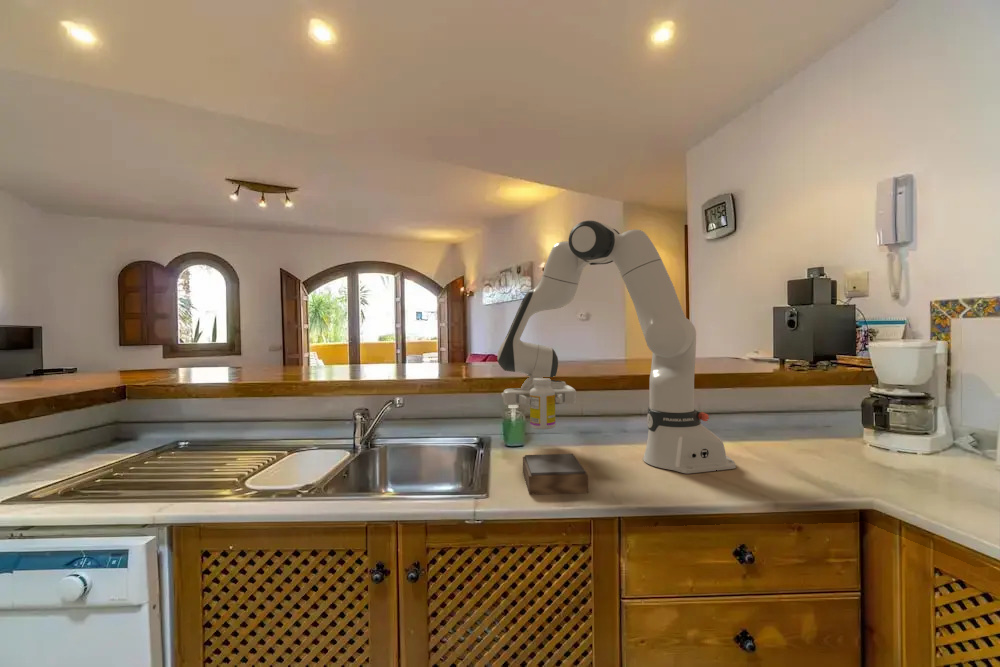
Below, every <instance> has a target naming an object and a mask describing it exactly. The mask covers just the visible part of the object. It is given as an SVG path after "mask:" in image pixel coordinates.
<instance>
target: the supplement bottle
mask: <svg viewBox="0 0 1000 667" xmlns="http://www.w3.org/2000/svg"><path fill="white" fill-rule="evenodd" d="M533 383H534V388H532V389H531V390H530V407H529V416H530V417H529V421H530V423H529V424H530V427H531V428H532V429H536V430H551V429H554V428H555V426H556V404H555V391H554V389H552V388H551V387H550V384H551V379H550V378H534V379H533Z"/></svg>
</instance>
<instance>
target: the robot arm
mask: <svg viewBox="0 0 1000 667" xmlns="http://www.w3.org/2000/svg"><path fill="white" fill-rule="evenodd" d="M610 263H611V264H612V263H614V264H615V266H616V267H617V269H618V271H619V274H620V276H621V278H622V281H623V282H624V285H625V287H626V290H627V291H628V292H627V293H628V294H629V296H630V299H631V301H632V304H633V306H634V309H635V314H636V316H637V320H638V322H639V325H640V329H641V331H642V332H641V333H642V334H643V337H644V340H645V343H646V346H647V347H648V349H649V351H651V353H652V355H651V366H650V374H649V379H648V380H649V381H648V382H649V393H648V394H649V395H648V396H649V398H648V400H649V406H648V407H647V415H646V416H647V417H646V419H647V420H646V422H647V428H648V432H647V433H648V434H647V441H646V446H645V447H646V448H645V450H644V455H643V457H642V460H643V461H644V462H645V463H646V464H648V465H649V466H652V467H656V468H659V469H662V470H663V469H666V470H671V471H674V472H679V473H682V474H696V473H697V474H698V473H705V472H706V473H707V472H715V471H716V470H717V471H725V470H733V469H736V468H737V467H736V466H737V465H736V461H735V460H733V459H732V458H731V457H729V456H727V454H726V448H725V444H724V442H723V441H722V440H721V438H719V437H718V435H715V433H713V432H712V431H711V430H710V429H708V428H707V427H706V426H704V424H702V422H701V421H703V422H708V420H710V415H709V414H708V413H706V412H703V411H701V412H700V411H698V410H697V409H695V370H696V351H697V331H696V328H695V325H694V324H693V322H692V321H691V320H690V319H688V317H686V315H685V312H684V310H683V308H682V305H681V303H680V300H679V297H678V294H677V292H676V289H675V286H674V284H673V281H672V279H671V278H670V274H669V273H668V270H667V268H666V266H665V264H664V261H663V260H662V258H661V255H660V253H659V251H658V250H657V248H656V246H655V245H654V243H653V242H652V241H651V238H649V236H648V234H646V232H645V231H643V230H642V229H629V230H626V231H624V232H622V233H620V232H619V231H618V230H616V228H612V227H611V226H609V225H608V224H606V223H603V222H599V221H596V220H584V221H581V222H579V223H577V224H576V225H574V227H573V228H572V229H571V231H570V233H569V235H568V241H563V240H562V241H560V242H557V243H555V244H554V245H553V246H552V248H551V250H550V253H549V254H548V257H547V260H546V263H545V265H544V268H543V272H542V277H541V278H540V280H539V282H538V283H537V285H536V286H535V287H534V288H533V289H530V290H528V291H527V292H526V293H525V295H524V297H523V299H522V301H521V303H520V305H519V308H518V309H517V311H516V314H515V316H514V318H513V321H512V323H511V325H510V327H509V330H508V332H507V334H506V336H505V339H504V340H503V342H502V343H501V345H500V346H499V349H498V352H497V363H498V365H499V366H500V368H501V369H503V371H506V372H510V373H511V372H513V373H515V372H516V373H520V374H523V375H525V374H527V376H530V377H529V378H527V379H526V380H525V381H524V383H523V384H522V386H521V388H518V387H516V388H515V387H514V388H513V387H512V388H506V389H504V390H503V392H501V394H500V396H501V398H503V405H506V406H515V405H517V406H518V405H519V406H520V405H523V406H524V405H525V406H527V407H529V408H530V390H531V389H532V388H534V383H533V379H534V378H543V377H553V376H555V377H556V376H557V373H558V367H559V359H558V356H557V355H558V354H557V353H556V351H555V350H554V348H553V347H549V346H546V345H540V344H536V343H531V342H526V341H523V340H521V337H522V336H523V333H524V331H525V328H526V326H527V323H528V321H529V320H530V318H531V317H532V316H533V315H534V314H537V313H539V312H543V311H544V312H545V311H551V310H557V309H561V308H563V307H565V306H568V305H569V304H570V303H572V301H573V300H574V298H575V296H576V294H577V291H578V287H579V283H580V279H581V276H582V272H583V270H584V268H585V267H586V266H588V265H590V266H592V265H593V266H595V265H606V264H610ZM550 387H551V388H552V389H554V391H555V405H562V404H566V405H567V404H571V405H572V404H576V403H577V390H576V389H575V388H574V387H573V386H571V385H568V384H567V383H566V381H563V380H555V379H554V380H551V384H550ZM717 471H716V472H717Z"/></svg>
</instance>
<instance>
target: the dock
mask: <svg viewBox="0 0 1000 667" xmlns="http://www.w3.org/2000/svg"><path fill="white" fill-rule="evenodd" d="M522 475H523V477H524V481H526V482H525V484H526V488H527V491H528V494H529V495H554V494H555V495H556V494H557V495H559V494H585V493H586V494H587V493H589V474H588V473H587V471H586V470H585V469H584V467H583V466H582V464H581V463H580V461H579V460H578V458H577V457H576V456H575V455H574V453H553V454H551V453H550V454H545V453H544V454H525V455H524V456H522Z"/></svg>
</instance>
